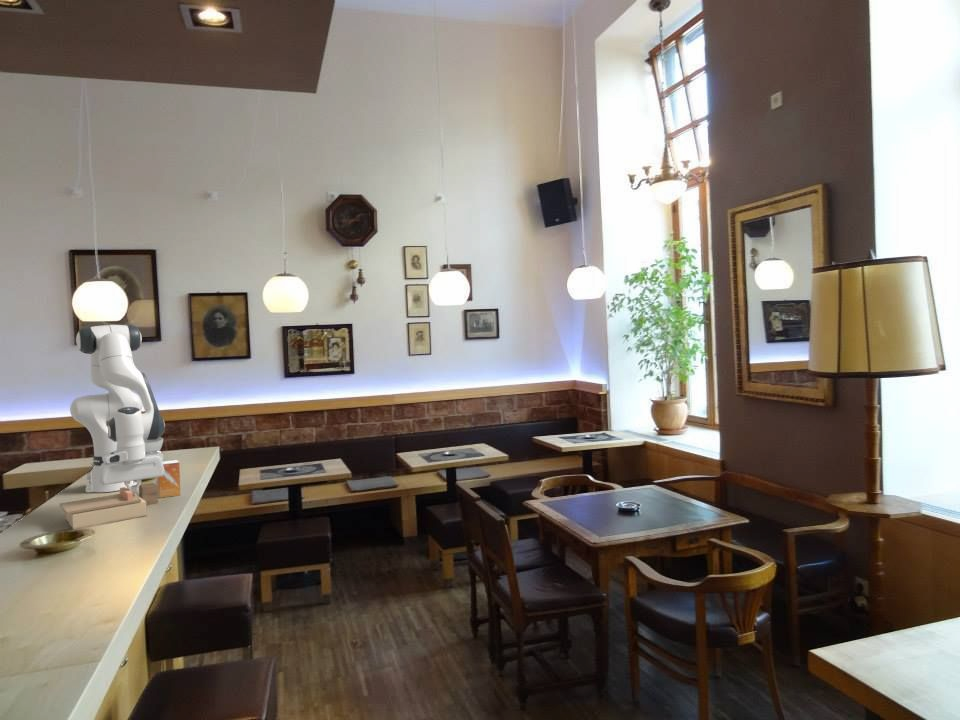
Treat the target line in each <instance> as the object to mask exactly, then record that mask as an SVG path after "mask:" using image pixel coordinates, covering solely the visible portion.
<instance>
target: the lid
mask: <svg viewBox="0 0 960 720" xmlns="http://www.w3.org/2000/svg"><path fill="white" fill-rule="evenodd" d="M135 494H136V493H132V492H131V491H130V490H128V488H125V487H122V488H120V490H119V493H116V494H115V493H114V494H110V495H104V496H97V497H92V498H91V497H90V498H86V499H85V498H83V499H79V500H78V499H77V500H75V501H74V500H73V501H68V502H61V503H60V502H59V506H60V508H61V509H62V510H63V511H64V513H65V515H66V514H73V513H79V512H84V511H90V510H96V509H102V508H108V507H113V506H119V505H125V504H131V503H136V502H141V499H140V498H139V497H140V496H139V497H137V496H136V495H137V494H136V495H135Z"/></svg>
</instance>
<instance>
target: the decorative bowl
mask: <svg viewBox="0 0 960 720" xmlns="http://www.w3.org/2000/svg"><path fill="white" fill-rule="evenodd" d="M144 443H145V452H152V451H159V452H161V449H162V447H163V443H164V438H163V437H162V436H160V437H159V438H158V439H157V440H144Z"/></svg>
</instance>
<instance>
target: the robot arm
mask: <svg viewBox="0 0 960 720" xmlns="http://www.w3.org/2000/svg"><path fill="white" fill-rule="evenodd" d="M142 339H143V338H142V333H141V331H140V329H139V328H138V327H137V326H136V325H131V324H127V325H126V324H124V325H123V324H106V325H105V324H104V325H94V326H89V325H87V326H83V327H80V329H79V330H78V332H77V334H76V337H75V342H76V346H77V348H78V349H79V351H80V352H81V353H83V354H87V355H90V380H91V382H92V383H93V385H95V386H96V387H98V388H101V389H104V390H107V391H108V393H101V394H88V395H83V396H79V397H76V398H74V400H73V401H72V402H71V403H70V408H69V411H70V415H71V417H72V418H73V420H75V421H76V423H79V424H81V425H82V426H83V427H85V428H86V429H87V431H88V432H89V434H90V436H91V439H92V445H93V456H92V457H93V458H92V462H93V463H92V464H93V468H91V470H90V473H87V474H86V478H87V480H89V481H88V483H86V485H85V486H86V487H85V493H108V492H109V493H110V492H117V491H120V488H122V487H125V488H127V489H128V490H130V491H131V492H132V493H133V494H138V493H139V486H140V485H142V480H146V479H153V478H154V479H155V477H160V476H163V474H164V467H163V463H162V462H163V461H164V454H163V452H161V451H152V452H145V443H144V440H157V439H158V438H159V437H162V436H163V435H164V433H165V431H166V424H165V420H164V418H163V416H162V414H161V411H160V409H159V407H158V404H157V401H156V398H155V395H154V393H153V390H152V387H151V384H150V382H149V380H148V377H147V375H146V374H145V373H144V372H142V371H140V370H139V369H138V368H137V366H136V365H135V363H134V358H133V352H135V351H138V350H139V349H140V348H141V344H142ZM143 408H144V411H145V412H144V413H142V409H143ZM133 486H134V487H133Z"/></svg>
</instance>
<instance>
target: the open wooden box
mask: <svg viewBox="0 0 960 720" xmlns="http://www.w3.org/2000/svg"><path fill="white" fill-rule="evenodd" d="M134 494H135V495H136V496H137V497H139V498H140V496H139V494H137V493H134ZM140 499H141V502H136V503H131V504H125V505H119V506H113V507H108V508H102V509H96V510H90V511H84V512H79V513H73V514H66V513H65V521H66V522H67V524H68V525H69V526H70V527H71V528H72V530H73V529H75V530H79V529H84V528H90V527H95V526H101V525H106V524H110V523H117V522H121V521H122V522H123V521H127V520H132V519H133V520H134V519H138V518H144V517H147V516H148V512H147V506H146V501H145V500H143V499H142V498H140Z"/></svg>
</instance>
